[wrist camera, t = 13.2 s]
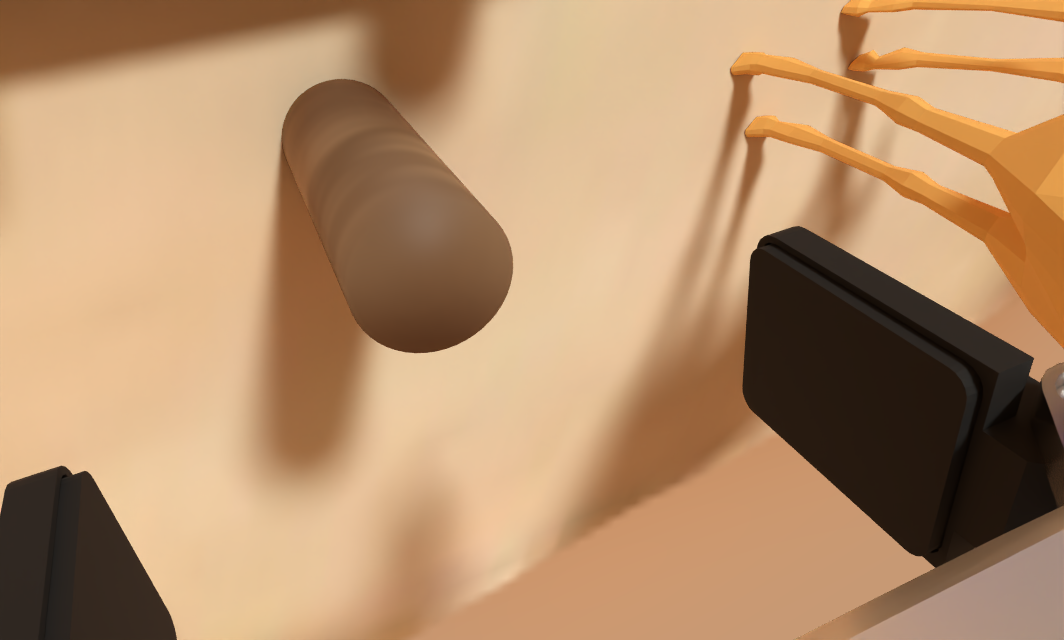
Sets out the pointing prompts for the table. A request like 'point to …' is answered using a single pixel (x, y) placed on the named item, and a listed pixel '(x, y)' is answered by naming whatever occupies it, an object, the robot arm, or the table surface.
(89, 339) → the table surface
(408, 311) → the leg peg
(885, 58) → the giraffe
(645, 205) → the table surface
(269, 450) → the table surface
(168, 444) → the table surface
